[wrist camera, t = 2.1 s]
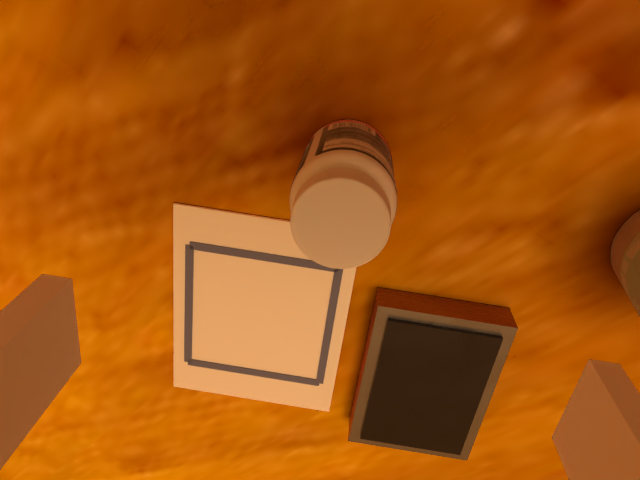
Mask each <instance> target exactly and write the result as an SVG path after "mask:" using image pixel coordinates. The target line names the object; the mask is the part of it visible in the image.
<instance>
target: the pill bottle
mask: <svg viewBox="0 0 640 480" xmlns="http://www.w3.org/2000/svg"><path fill="white" fill-rule="evenodd" d="M396 209H397V189H396V183H395V179H394V172H393V164H392V157H391V153H390V150H389V147H388V145H387V143H386V141H385V139H384V138H383V137H382V135H381V134H380V133H379V132H378V131H377V130H376V129H374V128H373V127H371V126H370V125H368V124H366V123H363V122H360V121H356V120H339V121H335V122H332V123H330V124H327V125H326V126H324V127H322V128H321V129H319V130H318V131H317V132H316V133H315V134H314V135H313V136H312V138H311V139H310V141H309V143H308V144H307V146H306V149H305V152H304V154H303V157H302V159H301V162H300V165H299V167H298V170H297V173H296V175H295V178H294V180H293V183H292V186H291V191H290V211H291V217H290V226H291V232H292V235H293V238H294V240H295V242H296V244H297V246H298V247H299V249H300V250H301V251H302V252H303V253H304V254H305V255H306V256H307V257H308V258H309V259H311V260H312V261H314V262H316V263H318V264H320V265H322V266H326V267H329V268H334V269H349V268H355V267H358V266H361V265H363V264H366V263H367V262H369V261H371V260H372V259H373V258H375V257H376V256H377V255H378V254H379V253H380V252H381V251H382V249H383V248H384V246H385V245H386V243H387V241H388V238H389V235H390V230H391V225H392V223H393V221H394V218H395V215H396Z"/></svg>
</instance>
